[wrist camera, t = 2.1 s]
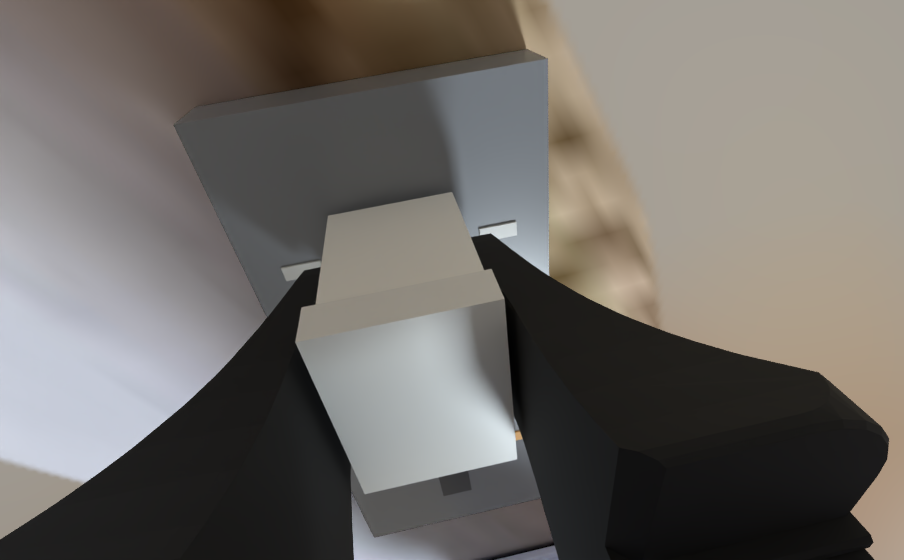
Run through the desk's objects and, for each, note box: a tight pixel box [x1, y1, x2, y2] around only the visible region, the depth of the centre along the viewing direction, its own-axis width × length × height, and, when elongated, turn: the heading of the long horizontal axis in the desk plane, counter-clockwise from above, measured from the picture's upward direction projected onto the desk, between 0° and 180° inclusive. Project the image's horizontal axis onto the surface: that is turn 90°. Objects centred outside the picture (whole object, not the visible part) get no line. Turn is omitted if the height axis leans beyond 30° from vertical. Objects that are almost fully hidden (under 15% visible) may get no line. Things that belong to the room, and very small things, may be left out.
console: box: [174, 49, 549, 537], centre depth 15 cm, size 18×8×2 cm, turn 8°
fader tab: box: [295, 192, 517, 494], centre depth 10 cm, size 4×3×5 cm
